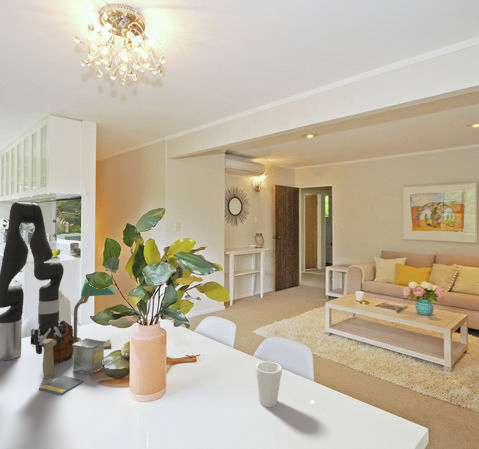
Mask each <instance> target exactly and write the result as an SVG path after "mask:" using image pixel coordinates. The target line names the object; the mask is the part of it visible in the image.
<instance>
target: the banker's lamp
mask: <svg viewBox="0 0 479 449" xmlns="http://www.w3.org/2000/svg"><path fill="white" fill-rule="evenodd" d="M110 295H111V296H112V295H116V292H115V290H114V288H113V287H112V286H109V287H107V288H105V289H96V288H94V287H92V286H90V285H89V283H88V281H87V278H85V280H84V283H83V286H82V288H81V291H80V299H79V300H78V301H77V303H76V304H75V306H74V309H73V344H74V343H76V342H79V341H81V340H82V338H80V337H78V309H79V307H80V306H81V305H83V304H86V303H87V302H88V301H89V298H90V297H99V296H110ZM103 341H104V342H105V343H104V350H106V349H112V341H111V338H109V339H107V340H103ZM71 346H72V345H71ZM72 354H73V346H72Z"/></svg>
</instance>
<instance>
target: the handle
mask: <svg viewBox="0 0 479 449" xmlns="http://www.w3.org/2000/svg"><path fill="white" fill-rule="evenodd" d="M54 345H56V340H55V339H45V340H44V341H43V342H42V348H43V353H42V354H43V356H42V372H43V373H42V374H43V379H51V378H53V373H54V372H53V371H54V368H55V367H54V365H55V364H54V359H53V346H54Z"/></svg>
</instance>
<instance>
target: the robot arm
mask: <svg viewBox="0 0 479 449" xmlns="http://www.w3.org/2000/svg"><path fill="white" fill-rule="evenodd" d="M21 224H33V226H34V230H33V233H32V235H31V237H30V240H29V247H28V245H27V243H26V241H25V239H24V238H23V236H22V234H21ZM5 240H6V241H5V245H4V250H3V255H2V259H1V260H2V261H1V265H0V309H2V308H3V309H4V308H8V309H7V310H5V311H3V313H0V361H4V362H5V361H11V360H15V359H17V358H19V357H21V356H22V332H23V331H22V330H23V329H22V328H23V327H22V323H23V321H22V316H23V313H24V300H25V299H24V296H25V295H24V289H23V288H22V286H21V285H12V286H10V284H11V283H12V281H13V280H14V278H15V277H16V276H17V275H18V273H20V272H21V271H22V270H23V269H24V267H25V266H26V264H27V260H28V256H29V248H30V252H31V254H32V258H33V264H34V265H33V275H34V276H33V277H34V278H35V279H36V280H38V281H41V282H42V281H48V280H50V281H49V282H48V283H47V284H45V285H41V287H39V289H38V304H37V305H38V306H37V310H38V312H37V313H38V314H37V315H38V316H37V317H38V318H37V320H38V321H37V322H38V328H32V329H31V330H30V345H32V346H35V353H36V354H37V355H42V354H43V347H42V342H43V341H44V340H45V339H46V337H48V336H50V335H53V334H54V335H55V336H56V337H55V340H56V345H55V346H58V347H59V346H60V344H61V337H62V335H63V334H65V321H62V320H59V289H60V285H61V283H62V279H63V275H64V266H63V264H62V263H61V262H60V261H52V262H48V261H50V260H51V259H52V258H53V256H54V255H53V250H52V248H51V246H50V242H49V241H48V237H47V232H46V226H45V220H44V216H43V211H42V208H41V206H40V205H39V204H38V203H35V202H26V201H24V202H23V201H15V202H13V203H12V204H11V206H10V210H9V218H8V229H7V235H6V239H5ZM58 326H59V330H58V329H57V328H58ZM39 332H40V333H39ZM42 335H43V337H41V336H42Z"/></svg>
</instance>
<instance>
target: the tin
mask: <svg viewBox="0 0 479 449" xmlns="http://www.w3.org/2000/svg"><path fill="white" fill-rule="evenodd" d="M104 341H105V340H99V339H91V338H83V339H81V341H79V342H76V343H74V344H72V346H73V353H72V355H73V357H72V362H73V363H72V364H73V365H72V371H73V372H76V373H81V374H85V375H88V376H89V375H91V376H92V375H94V374H95V373H94V372H95V371H97V370H98V369H100V368H101V367H102V360H103V359H104V360H105V358H104V357H105V355H104V354H105V352H104V351H105V349H104V343H105V342H104ZM97 372H98V371H97ZM93 373H94V374H93Z"/></svg>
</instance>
